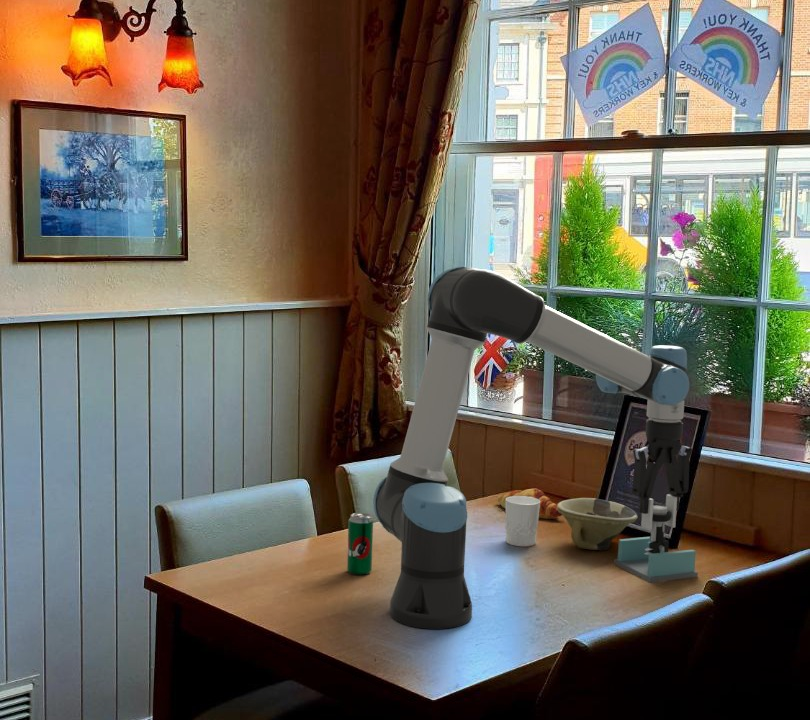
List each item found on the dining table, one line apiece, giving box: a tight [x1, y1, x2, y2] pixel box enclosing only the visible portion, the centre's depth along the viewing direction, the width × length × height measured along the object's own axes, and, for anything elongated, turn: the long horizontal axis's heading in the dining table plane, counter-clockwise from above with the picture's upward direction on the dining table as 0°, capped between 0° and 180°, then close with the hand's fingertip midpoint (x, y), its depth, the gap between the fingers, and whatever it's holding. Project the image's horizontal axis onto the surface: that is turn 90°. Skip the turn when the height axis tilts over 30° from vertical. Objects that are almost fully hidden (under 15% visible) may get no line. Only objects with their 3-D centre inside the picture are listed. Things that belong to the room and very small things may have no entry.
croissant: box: [497, 488, 563, 520], centre depth 270 cm, size 21×10×8 cm, turn 45°
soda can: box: [346, 512, 374, 576], centre depth 218 cm, size 5×5×12 cm
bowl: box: [556, 497, 639, 552], centre depth 242 cm, size 18×18×10 cm
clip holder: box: [613, 536, 699, 583], centre depth 226 cm, size 12×13×6 cm
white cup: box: [505, 496, 540, 547], centre depth 243 cm, size 8×8×10 cm
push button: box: [645, 504, 671, 555], centre depth 225 cm, size 7×5×10 cm
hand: (658, 526), depth 225 cm, fingers closed on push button, 5 cm apart
